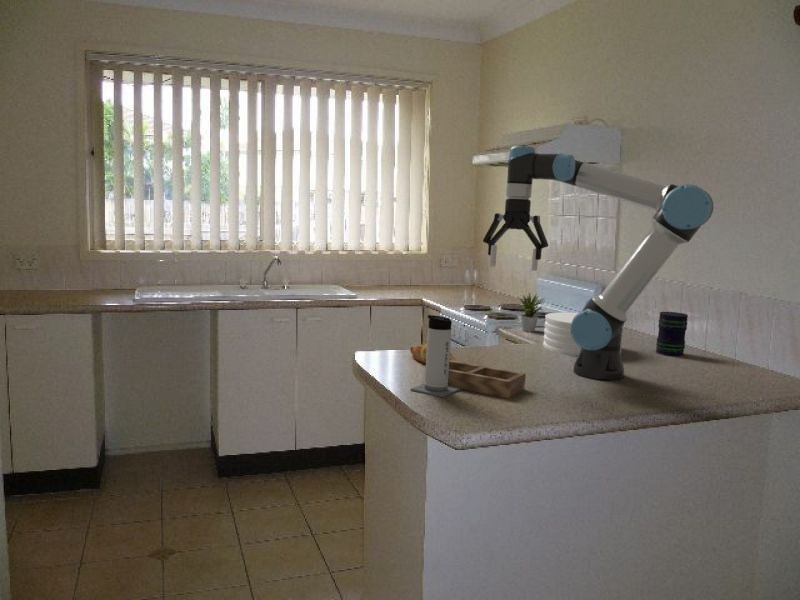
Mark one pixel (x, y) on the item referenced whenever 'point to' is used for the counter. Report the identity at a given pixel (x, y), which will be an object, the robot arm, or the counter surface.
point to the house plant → (530, 313)
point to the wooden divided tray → (485, 379)
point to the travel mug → (438, 353)
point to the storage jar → (671, 334)
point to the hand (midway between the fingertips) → (513, 268)
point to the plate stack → (561, 334)
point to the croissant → (423, 353)
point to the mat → (436, 393)
